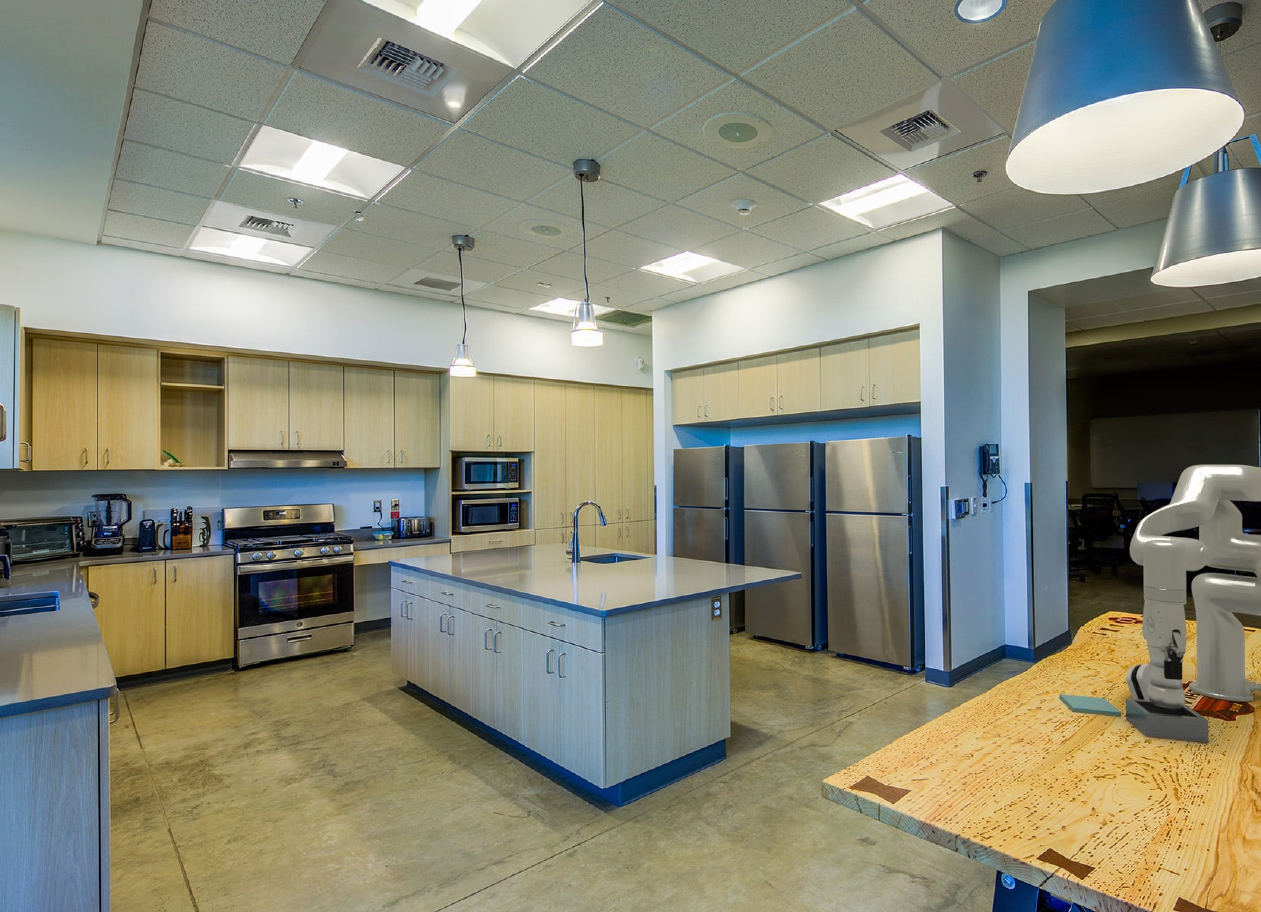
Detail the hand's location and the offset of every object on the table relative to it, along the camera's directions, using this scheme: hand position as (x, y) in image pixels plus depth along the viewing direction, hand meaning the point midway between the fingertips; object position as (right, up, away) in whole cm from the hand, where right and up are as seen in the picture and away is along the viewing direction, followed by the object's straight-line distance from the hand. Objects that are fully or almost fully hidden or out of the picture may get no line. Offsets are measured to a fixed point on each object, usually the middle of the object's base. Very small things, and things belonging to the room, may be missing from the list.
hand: (1165, 673), depth 149 cm
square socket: (-1, -13, 0) cm, 13 cm away
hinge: (+12, -14, +19) cm, 26 cm away
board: (-7, -13, +14) cm, 21 cm away
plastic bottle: (0, -8, 0) cm, 8 cm away
